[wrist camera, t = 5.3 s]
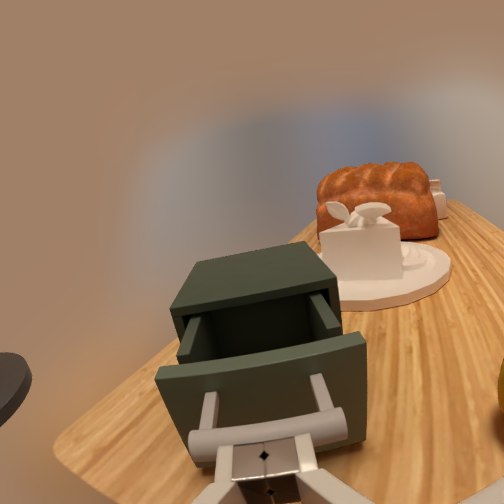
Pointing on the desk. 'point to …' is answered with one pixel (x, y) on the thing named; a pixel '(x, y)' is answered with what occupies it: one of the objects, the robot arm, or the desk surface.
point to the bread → (382, 196)
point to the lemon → (501, 387)
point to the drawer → (267, 377)
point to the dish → (378, 260)
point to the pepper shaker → (438, 198)
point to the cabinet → (254, 281)
